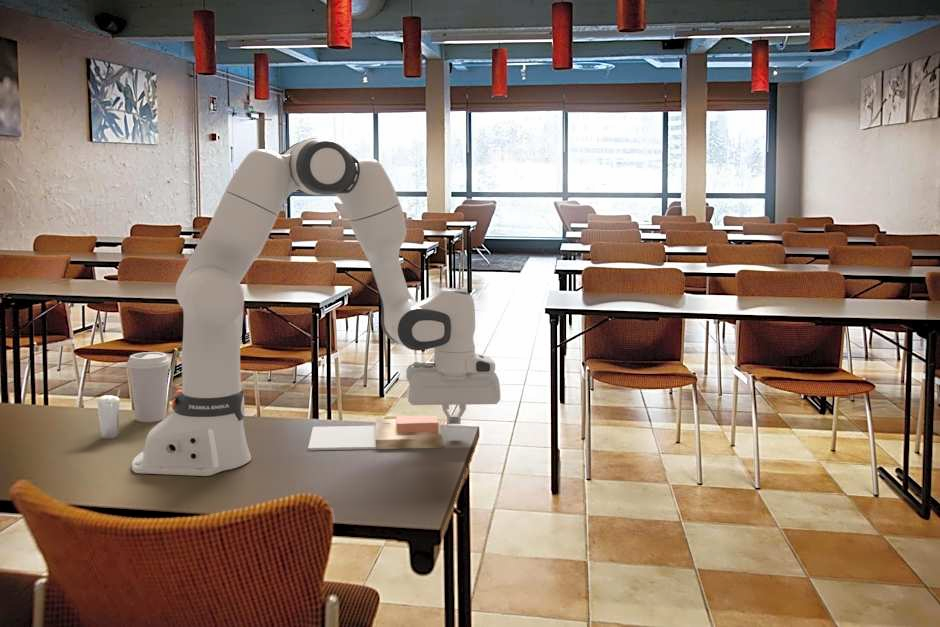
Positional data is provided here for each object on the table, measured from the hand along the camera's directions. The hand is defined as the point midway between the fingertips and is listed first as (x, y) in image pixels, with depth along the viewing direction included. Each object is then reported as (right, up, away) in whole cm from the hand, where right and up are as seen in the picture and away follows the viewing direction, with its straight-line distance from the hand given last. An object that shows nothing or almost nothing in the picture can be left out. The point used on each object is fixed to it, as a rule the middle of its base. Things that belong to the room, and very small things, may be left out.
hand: (453, 423), depth 200 cm
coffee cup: (-71, 0, +12) cm, 72 cm away
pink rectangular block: (-8, -1, -1) cm, 8 cm away
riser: (-10, -3, -1) cm, 10 cm away
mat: (-24, -3, -2) cm, 24 cm away
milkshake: (-74, -3, -2) cm, 74 cm away
